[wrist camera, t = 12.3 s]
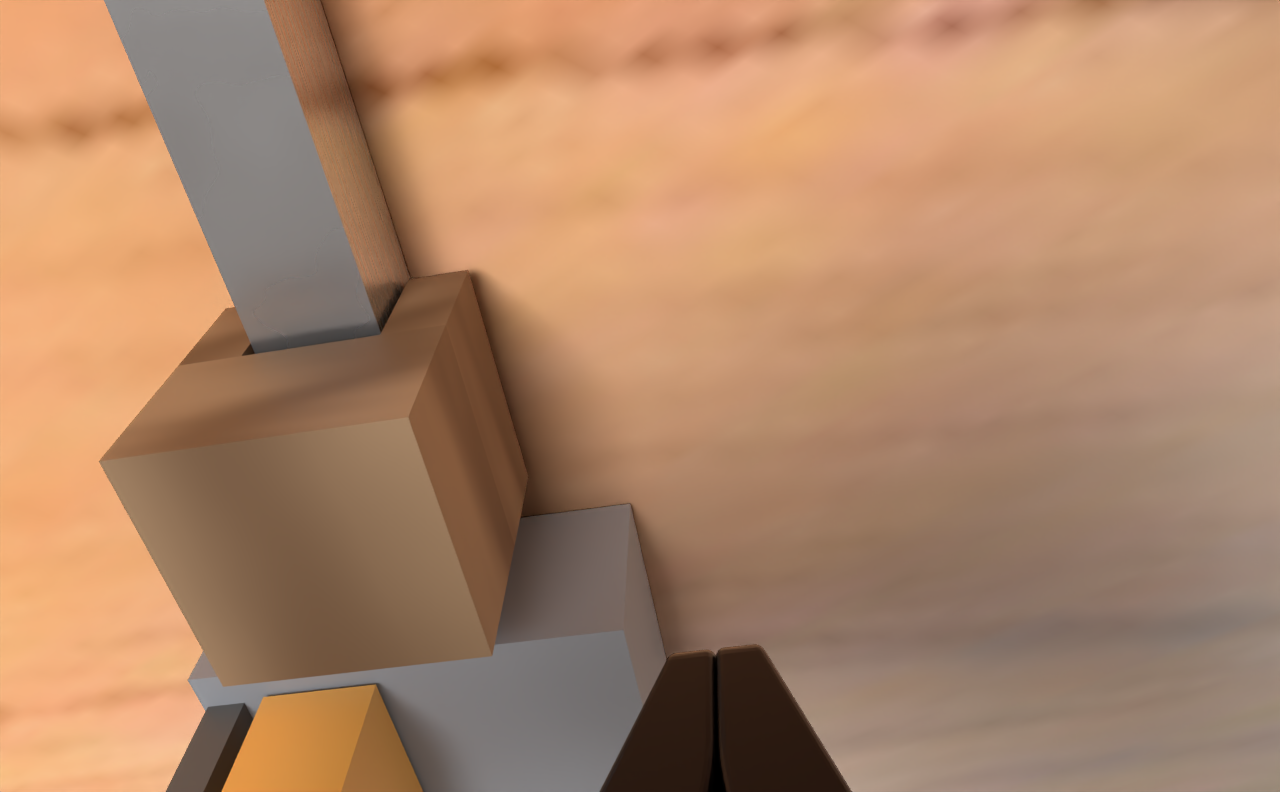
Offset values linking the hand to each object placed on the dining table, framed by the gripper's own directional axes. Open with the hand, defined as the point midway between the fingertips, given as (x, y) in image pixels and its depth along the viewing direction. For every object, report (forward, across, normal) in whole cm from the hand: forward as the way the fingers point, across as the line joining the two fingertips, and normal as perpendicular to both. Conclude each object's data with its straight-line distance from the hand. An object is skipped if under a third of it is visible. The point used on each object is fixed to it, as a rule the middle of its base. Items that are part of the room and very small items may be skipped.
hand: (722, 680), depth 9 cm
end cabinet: (+12, +7, +9) cm, 17 cm away
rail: (+12, +7, -1) cm, 14 cm away
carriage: (+12, +7, +3) cm, 14 cm away
